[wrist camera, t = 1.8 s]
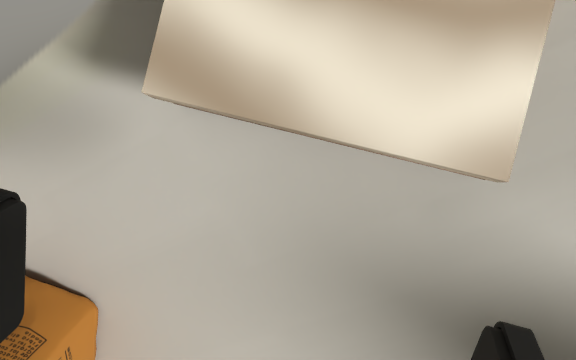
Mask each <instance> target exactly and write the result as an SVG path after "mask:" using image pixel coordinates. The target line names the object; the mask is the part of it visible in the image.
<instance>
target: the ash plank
mask: <svg viewBox="0 0 576 360" xmlns="http://www.w3.org/2000/svg"><path fill="white" fill-rule="evenodd" d="M554 4H555V0H164V3H163V7H162V11H161V15H160V19H159V23H158V27H157V31H156V35H155V39H154V43H153V47H152V51H151V55H150V60H149V64H148V68H147V72H146V76H145V80H144V84H143V88H142V93H144V94H146V95H148V96H150V97H152V98H155V99H159V100H163V101H168V102H172V103H176V104H180V105H184V106H188V107H192V108H196V109H200V110H204V111H208V112H212V113H216V114H221V115H225V116H229V117H233V118H237V119H241V120H245V121H249V122H253V123H257V124H261V125H265V126H270V127H274V128H278V129H282V130H286V131H290V132H294V133H298V134H302V135H306V136H310V137H314V138H318V139H323V140H327V141H331V142H335V143H339V144H343V145H347V146H351V147H355V148H359V149H363V150H367V151H371V152H376V153H380V154H384V155H388V156H392V157H396V158H400V159H404V160H408V161H412V162H416V163H420V164H424V165H429V166H433V167H437V168H441V169H445V170H449V171H453V172H457V173H461V174H465V175H469V176H473V177H478V178H482V179H486V180H490V181H494V182H509V178H510V174H511V170H512V166H513V162H514V159H515V155H516V151H517V147H518V143H519V139H520V135H521V131H522V128H523V124H524V120H525V116H526V112H527V108H528V104H529V100H530V97H531V93H532V89H533V85H534V81H535V77H536V73H537V70H538V66H539V62H540V58H541V54H542V50H543V46H544V42H545V39H546V35H547V31H548V27H549V23H550V19H551V15H552V11H553V8H554Z"/></svg>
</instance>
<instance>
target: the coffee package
mask: <svg viewBox="0 0 576 360" xmlns="http://www.w3.org/2000/svg"><path fill="white" fill-rule="evenodd" d="M97 326H98V308H97V307H96V305H95V304H94V303H93V302H92V301H90V300H89V299H88V298H86V297H83V296H79V295H76V294H73V293H70V292H68V291H66V290H63V289H60V288H58V287H55V286H52V285H49V284H46V283H42V282H39V281H37V280H35V279H31V278H29V277H27V276H25V306H24V315H23V318H22V320H21V323H20V324H19V326H18V327H17V328H16V329H15V330H14V331H13V332H12V333H11V334H10V335H9V336H8V337H7V338H6V339H5V340H4V341H3V342H1V343H0V360H95V356H96V333H97Z"/></svg>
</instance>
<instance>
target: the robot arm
mask: <svg viewBox="0 0 576 360" xmlns="http://www.w3.org/2000/svg"><path fill="white" fill-rule="evenodd" d="M25 256H26V205H25V203H23V202H21V200H20V197H19V195H18V194H17V193H15V192H11V191H8V190H4V189H0V343H1V342H3V341H4V340H5V339H6V338H7V337H8V336H9V335H10V334H11V333H12V332H13V331H14V330H15V329H16V328H17V327H18V326H19V324H20V323H21V320H22V318H23V315H24V306H25ZM471 360H544V357H543V355H542V353H541V350H540V348H539V346H538V343H537V341H536V338H535V336H534V334H533V332H532V331H531V330H530V329H527V328H524V327H520V326H516V325H512V324H509V323H505V322H501V321H499V322H497V323H496V325H495V326H494V327H490V326H486V327H485V328H484V329H483V331H482V334H481V336H480V339H479V341H478V343H477V346H476V348H475V351H474V353H473V356H472V358H471Z"/></svg>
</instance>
